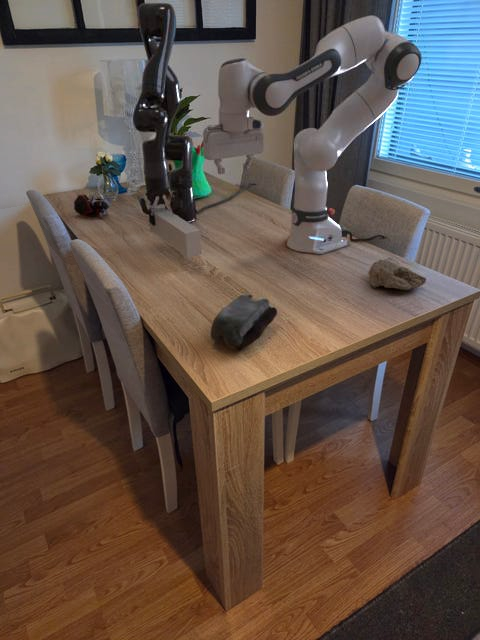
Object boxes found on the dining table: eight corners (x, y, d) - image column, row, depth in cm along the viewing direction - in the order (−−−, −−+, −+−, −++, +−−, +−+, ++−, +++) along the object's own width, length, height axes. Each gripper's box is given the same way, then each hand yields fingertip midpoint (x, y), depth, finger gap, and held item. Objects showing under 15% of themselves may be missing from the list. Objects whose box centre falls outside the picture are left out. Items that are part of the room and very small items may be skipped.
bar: (150, 230, 159) (147, 208, 154) (163, 227, 161) (161, 205, 157) (187, 257, 140) (185, 233, 135) (201, 253, 142) (200, 230, 138)
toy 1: (101, 187, 180) (72, 186, 186) (93, 207, 178) (64, 205, 183) (117, 205, 191) (89, 203, 196) (109, 223, 188) (82, 221, 194)
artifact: (387, 301, 128) (428, 294, 133) (394, 279, 124) (436, 272, 129) (353, 270, 142) (391, 265, 147) (358, 249, 138) (397, 245, 142)
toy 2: (167, 190, 223) (163, 137, 210) (207, 188, 227) (205, 135, 214) (172, 202, 206) (167, 145, 193) (214, 199, 210) (213, 143, 197)
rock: (246, 362, 102) (246, 333, 98) (204, 348, 107) (203, 320, 103) (278, 325, 116) (280, 298, 112) (240, 314, 121) (241, 288, 116)
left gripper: (140, 180, 140) (146, 231, 149) (180, 173, 147) (184, 222, 156) (131, 174, 145) (137, 224, 154) (170, 168, 152) (174, 216, 161)
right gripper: (209, 127, 122) (210, 178, 130) (267, 121, 132) (266, 169, 140) (197, 124, 127) (199, 174, 134) (255, 119, 137) (254, 165, 144)
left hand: (161, 223), depth 155 cm, fingers closed on bar, 5 cm apart
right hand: (234, 171), depth 137 cm, fingers open, 8 cm apart
